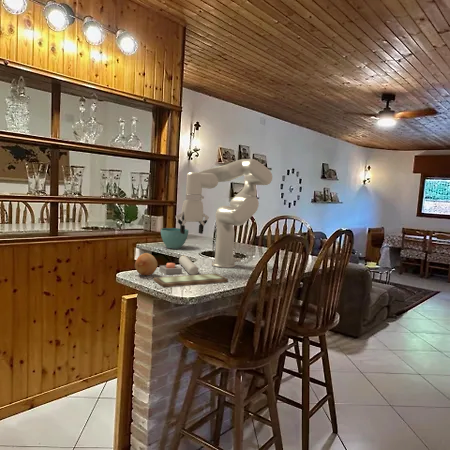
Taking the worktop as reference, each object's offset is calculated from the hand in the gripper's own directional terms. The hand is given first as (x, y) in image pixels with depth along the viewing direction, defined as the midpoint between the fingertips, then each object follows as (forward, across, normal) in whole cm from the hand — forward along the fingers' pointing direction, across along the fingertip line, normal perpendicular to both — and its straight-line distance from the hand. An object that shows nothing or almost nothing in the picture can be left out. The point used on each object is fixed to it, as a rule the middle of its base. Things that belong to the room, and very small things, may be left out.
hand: (191, 233), depth 183 cm
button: (+17, +11, +2) cm, 20 cm away
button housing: (+18, +11, +2) cm, 21 cm away
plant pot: (+18, -18, -63) cm, 68 cm away
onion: (+18, +24, +5) cm, 30 cm away
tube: (+18, 0, 0) cm, 19 cm away
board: (+18, +9, +20) cm, 29 cm away
